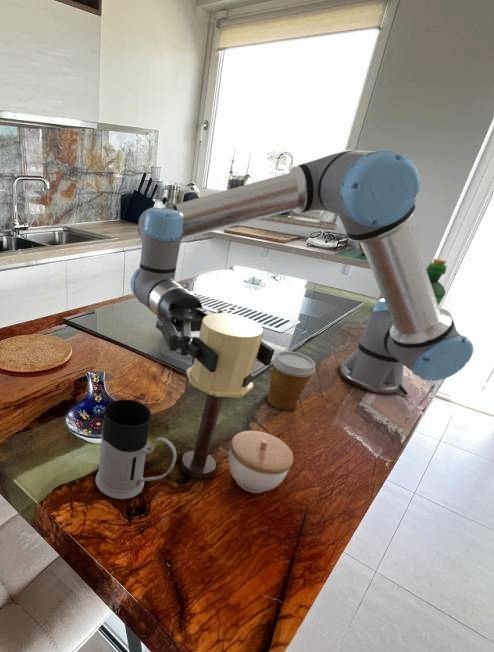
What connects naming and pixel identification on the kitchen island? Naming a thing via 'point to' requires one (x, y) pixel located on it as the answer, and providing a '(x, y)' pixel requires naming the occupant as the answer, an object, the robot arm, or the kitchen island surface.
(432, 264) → the bottle
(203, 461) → the stand
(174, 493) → the kitchen island surface
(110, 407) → the glass holder
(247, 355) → the hat
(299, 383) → the disposable coffee cup
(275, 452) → the trinket box
